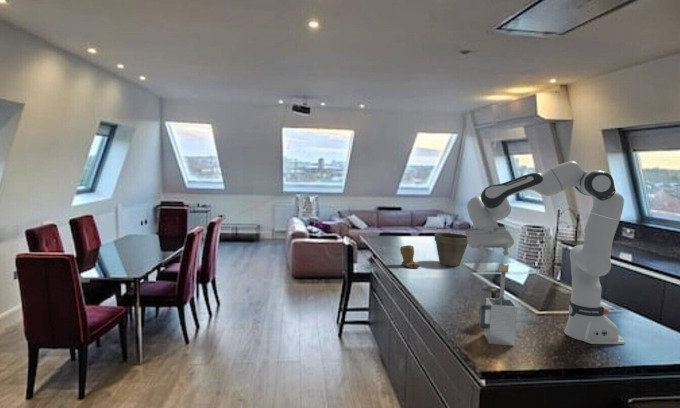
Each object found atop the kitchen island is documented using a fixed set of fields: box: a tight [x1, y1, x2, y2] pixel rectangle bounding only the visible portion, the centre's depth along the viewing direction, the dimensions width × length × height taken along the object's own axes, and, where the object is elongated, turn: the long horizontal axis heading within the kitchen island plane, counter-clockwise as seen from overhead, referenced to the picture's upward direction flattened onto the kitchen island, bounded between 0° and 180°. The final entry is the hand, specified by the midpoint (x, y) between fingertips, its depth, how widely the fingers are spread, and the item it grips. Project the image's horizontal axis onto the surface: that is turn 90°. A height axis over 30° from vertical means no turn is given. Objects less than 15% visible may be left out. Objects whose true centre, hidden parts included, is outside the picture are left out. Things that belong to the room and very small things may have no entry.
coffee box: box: [478, 285, 500, 325], centre depth 200 cm, size 9×6×16 cm
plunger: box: [498, 262, 510, 306], centre depth 179 cm, size 8×8×22 cm
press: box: [478, 298, 518, 347], centre depth 180 cm, size 13×10×16 cm
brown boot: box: [399, 244, 421, 269], centre depth 309 cm, size 15×12×15 cm
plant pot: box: [434, 232, 469, 267], centre depth 322 cm, size 25×25×22 cm
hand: (496, 255), depth 183 cm, fingers open, 8 cm apart
